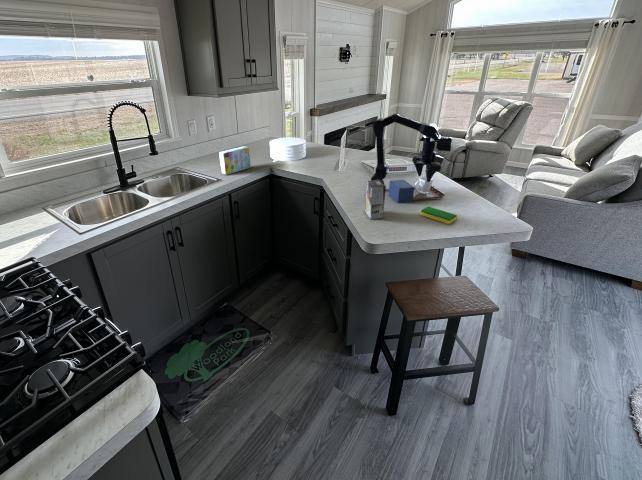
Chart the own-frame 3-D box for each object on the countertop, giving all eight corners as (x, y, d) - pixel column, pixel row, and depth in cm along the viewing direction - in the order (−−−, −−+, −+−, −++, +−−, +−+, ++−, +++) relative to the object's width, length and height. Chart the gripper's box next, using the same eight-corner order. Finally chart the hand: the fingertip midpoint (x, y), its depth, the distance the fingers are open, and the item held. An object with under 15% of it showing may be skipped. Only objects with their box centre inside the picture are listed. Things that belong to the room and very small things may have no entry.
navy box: (398, 203, 168) (399, 188, 165) (387, 194, 180) (389, 180, 176) (443, 199, 170) (446, 185, 167) (430, 190, 182) (432, 177, 179)
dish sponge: (427, 210, 159) (428, 205, 158) (456, 219, 150) (457, 214, 149) (419, 215, 155) (420, 210, 154) (449, 224, 145) (450, 219, 144)
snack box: (246, 166, 234) (244, 145, 228) (250, 167, 231) (249, 146, 225) (221, 173, 221) (218, 151, 215) (225, 175, 217) (223, 153, 211)
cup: (434, 194, 173) (436, 179, 170) (417, 196, 170) (419, 181, 167) (425, 189, 179) (427, 175, 176) (409, 191, 177) (411, 177, 173)
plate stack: (273, 151, 272) (273, 137, 267) (307, 151, 268) (307, 137, 263) (267, 160, 247) (266, 145, 242) (304, 160, 243) (303, 145, 238)
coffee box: (383, 218, 153) (386, 186, 146) (370, 219, 152) (372, 187, 146) (377, 210, 161) (379, 179, 154) (364, 211, 161) (366, 180, 154)
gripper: (453, 153, 158) (448, 183, 164) (433, 144, 175) (429, 172, 181) (432, 155, 156) (427, 185, 163) (413, 145, 173) (410, 173, 180)
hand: (423, 179), depth 172 cm, fingers open, 9 cm apart
